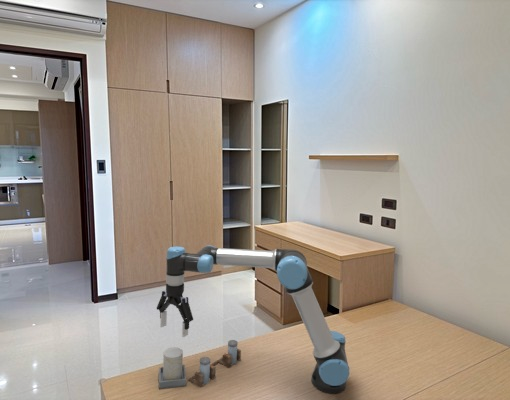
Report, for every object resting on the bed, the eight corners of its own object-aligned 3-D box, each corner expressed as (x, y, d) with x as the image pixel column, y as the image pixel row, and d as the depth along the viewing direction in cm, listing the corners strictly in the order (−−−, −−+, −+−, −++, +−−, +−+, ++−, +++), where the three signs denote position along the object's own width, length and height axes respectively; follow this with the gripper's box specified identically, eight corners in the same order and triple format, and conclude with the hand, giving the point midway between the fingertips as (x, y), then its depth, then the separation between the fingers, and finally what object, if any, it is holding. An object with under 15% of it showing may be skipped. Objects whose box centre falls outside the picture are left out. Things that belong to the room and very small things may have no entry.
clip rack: (240, 359, 172) (241, 349, 171) (200, 387, 149) (201, 375, 148) (228, 354, 176) (229, 344, 175) (188, 380, 153) (188, 369, 152)
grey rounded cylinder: (211, 380, 154) (212, 359, 153) (204, 385, 150) (205, 363, 149) (204, 376, 157) (204, 355, 156) (196, 381, 153) (197, 359, 152)
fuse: (238, 361, 170) (239, 342, 169) (232, 365, 166) (233, 345, 165) (231, 358, 172) (232, 339, 171) (225, 362, 169) (226, 342, 168)
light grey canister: (163, 385, 148) (163, 358, 147) (162, 373, 156) (163, 348, 155) (182, 382, 150) (183, 356, 149) (181, 371, 158) (182, 346, 157)
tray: (184, 370, 160) (184, 364, 160) (186, 386, 149) (186, 379, 149) (159, 373, 157) (159, 367, 157) (158, 389, 146) (159, 382, 146)
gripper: (202, 287, 145) (201, 336, 147) (162, 274, 159) (161, 319, 161) (189, 292, 139) (188, 343, 141) (149, 278, 153) (148, 325, 155)
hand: (173, 331), depth 151 cm, fingers open, 13 cm apart
